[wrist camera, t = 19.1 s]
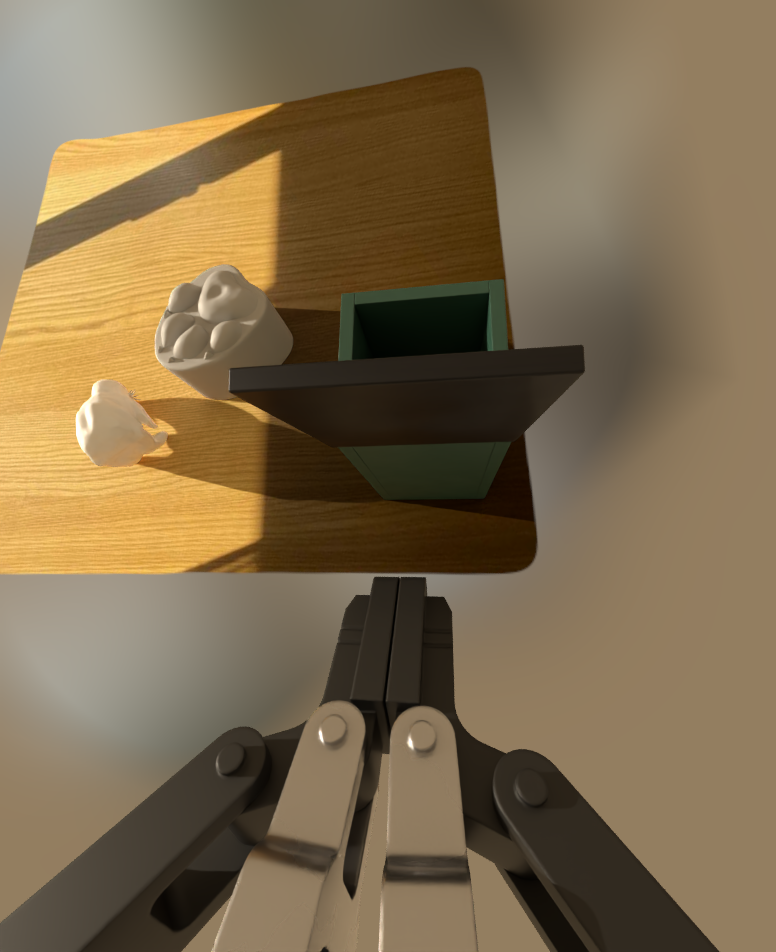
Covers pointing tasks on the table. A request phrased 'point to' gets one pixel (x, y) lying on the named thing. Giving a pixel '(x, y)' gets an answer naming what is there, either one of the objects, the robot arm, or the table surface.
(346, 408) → the box lid
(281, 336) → the lumpy-topped squat cylinder
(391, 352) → the green box
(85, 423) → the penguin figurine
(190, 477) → the table surface
